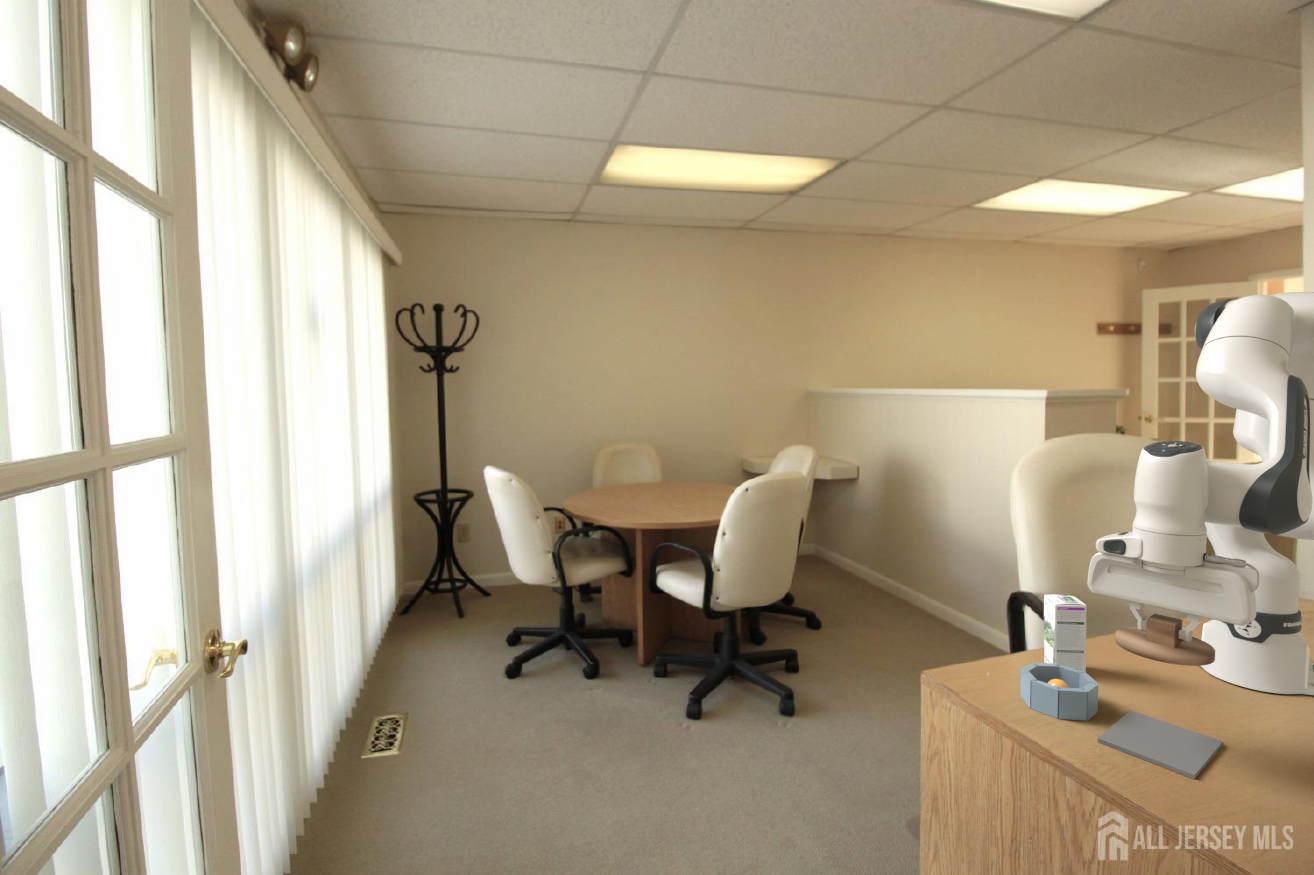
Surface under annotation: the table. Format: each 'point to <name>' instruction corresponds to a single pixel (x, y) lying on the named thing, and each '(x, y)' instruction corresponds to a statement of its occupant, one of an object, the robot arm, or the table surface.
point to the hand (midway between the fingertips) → (1164, 635)
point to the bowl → (1059, 691)
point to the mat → (1162, 743)
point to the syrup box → (1065, 631)
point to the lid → (1165, 643)
